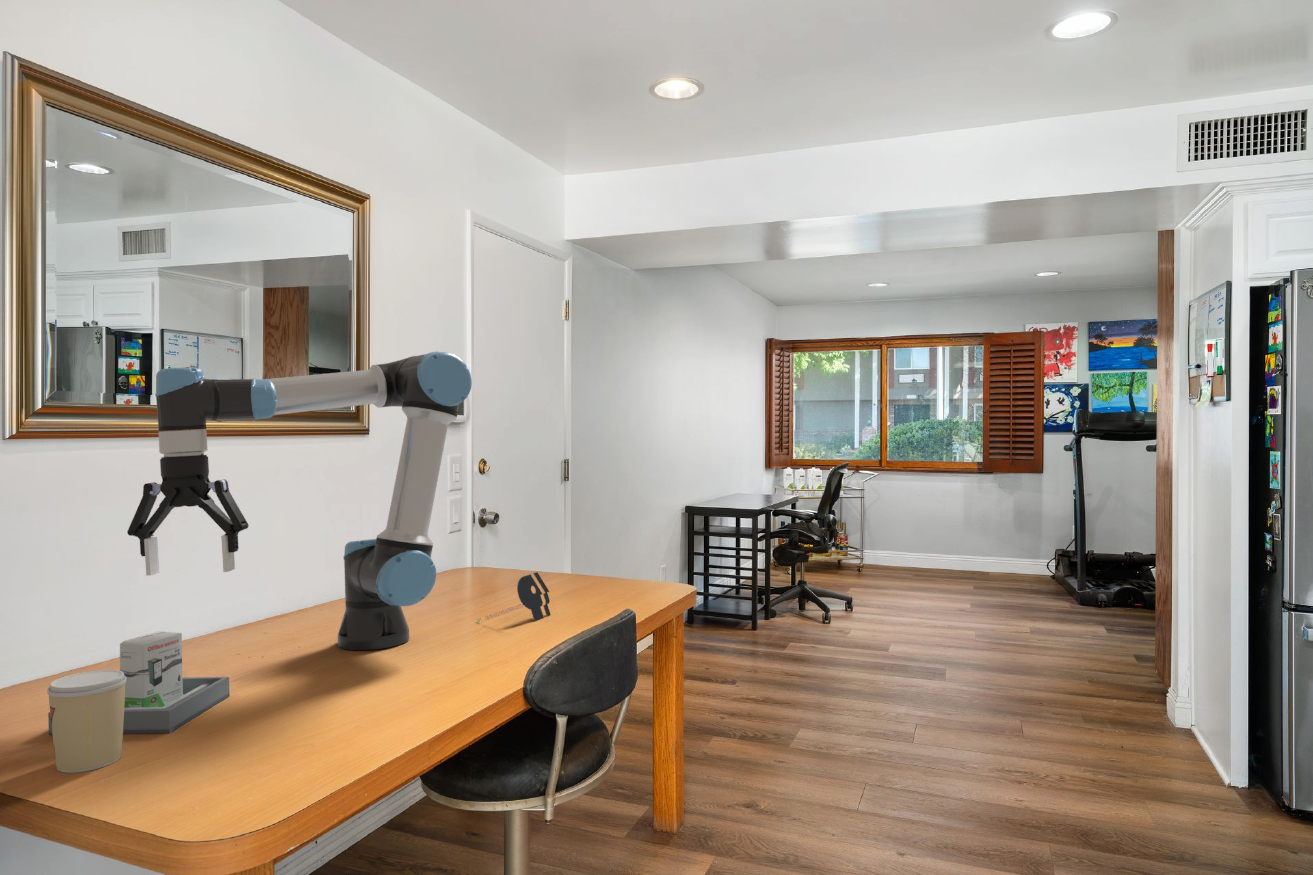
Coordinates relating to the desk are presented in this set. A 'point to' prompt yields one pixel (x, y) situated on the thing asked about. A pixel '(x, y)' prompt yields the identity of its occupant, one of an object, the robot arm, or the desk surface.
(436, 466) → the robot arm
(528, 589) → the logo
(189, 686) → the walled tray
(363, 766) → the desk surface
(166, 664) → the ink box
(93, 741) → the coffee cup
